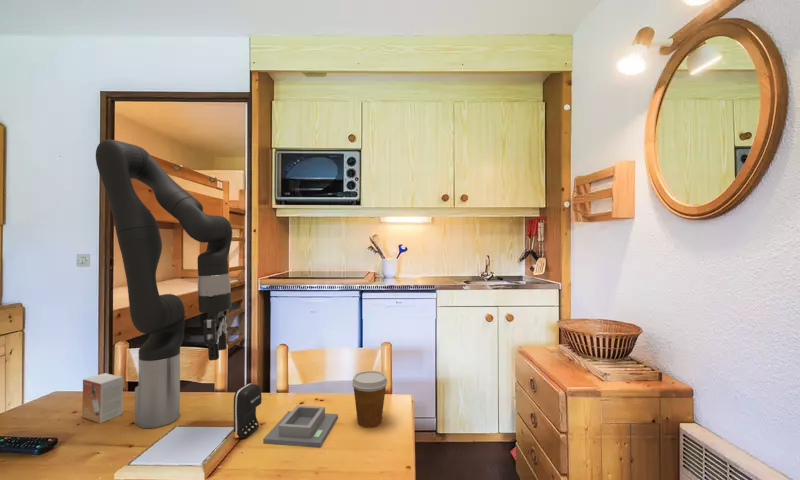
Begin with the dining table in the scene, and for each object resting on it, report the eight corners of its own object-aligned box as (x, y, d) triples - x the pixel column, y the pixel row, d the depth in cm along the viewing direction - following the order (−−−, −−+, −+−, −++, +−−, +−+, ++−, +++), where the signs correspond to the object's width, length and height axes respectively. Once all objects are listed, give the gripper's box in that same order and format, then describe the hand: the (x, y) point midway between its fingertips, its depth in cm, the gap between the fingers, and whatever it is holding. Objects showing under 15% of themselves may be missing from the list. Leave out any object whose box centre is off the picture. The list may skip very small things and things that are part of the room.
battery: (246, 441, 86) (246, 393, 86) (232, 439, 86) (232, 391, 86) (263, 426, 92) (263, 382, 92) (250, 424, 93) (250, 380, 93)
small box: (81, 418, 96) (81, 379, 96) (105, 409, 102) (105, 372, 102) (99, 423, 93) (100, 383, 93) (123, 414, 99) (123, 376, 99)
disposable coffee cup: (344, 422, 95) (344, 376, 95) (370, 409, 102) (370, 367, 102) (368, 435, 88) (368, 386, 88) (394, 421, 95) (395, 376, 95)
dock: (263, 443, 85) (263, 428, 85) (288, 414, 99) (288, 402, 99) (320, 447, 83) (320, 432, 83) (337, 417, 97) (337, 404, 97)
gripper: (206, 290, 98) (209, 348, 98) (189, 297, 85) (193, 365, 85) (235, 287, 100) (239, 345, 100) (224, 294, 86) (227, 361, 86)
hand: (218, 354), depth 92 cm, fingers open, 8 cm apart
